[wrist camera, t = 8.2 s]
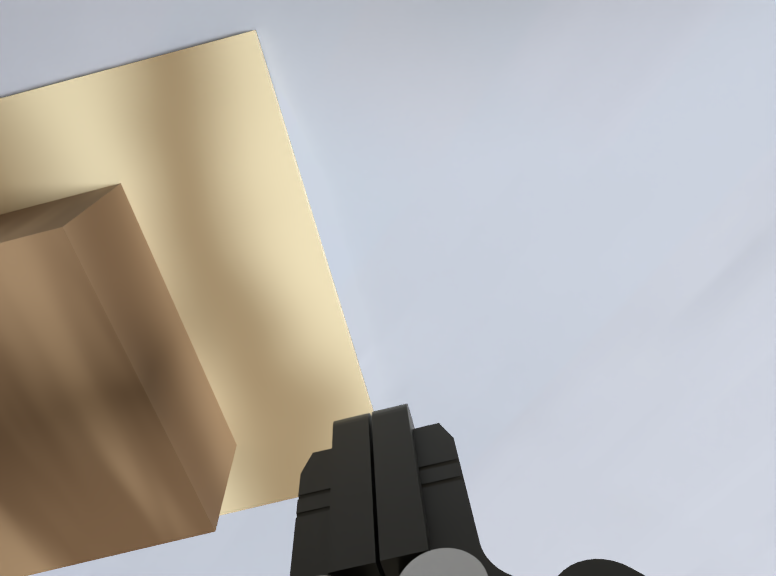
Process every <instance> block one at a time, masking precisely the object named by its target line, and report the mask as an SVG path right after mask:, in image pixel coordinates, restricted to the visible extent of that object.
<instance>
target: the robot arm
mask: <svg viewBox="0 0 776 576" xmlns="http://www.w3.org/2000/svg"><path fill="white" fill-rule="evenodd" d="M298 496H299V500H298V502H297V512H296V514H297V518H296V522H295V532H294V541H293V551H292V561H291V570H290V576H511V575H509V574H507V573H505V572H503V571H502V570H500V569H498V568H497V567H496V566H495V565H493V564H492V563H491V562H490V561H489V559H488V558H487V557H486V556H485V554H484V552H483V550H482V548H481V545H480V542H479V538H478V534H477V530H476V526H475V522H474V518H473V514H472V510H471V506H470V502H469V498H468V494H467V490H466V486H465V482H464V478H463V474H462V470H461V466H460V462H459V458H458V454H457V450H456V446H455V442H454V438H453V437H452V436H451V435H450V434H449V433H448V432H447V431H446V430H445V429H444V428H443V427H442V426H441V425H440V424H439V423H437V424H433V425H428V426H424V427H420V428H416V429H415V428H414V425H413V421H412V417H411V414H410V410H409V407H408V404H404V405H399V406H395V407H391V408H387V409H383V410H378V411H374V412H372V415H371V414H370V413H366V414H362V415H358V416H354V417H349V418H345V419H341V420H337V421H334V422H333V434H332V448H331V449H327V450H322V451H318V452H314V453H312V455H311V457H310V458H309V460H308V462H307V463H306V465H305V467H304V469H303V470H302V472H301V474H300V483H299V493H298ZM558 576H645V575H643V574H641V573H639V572H637V571H636V570H634V569H632V568H630V567H628V566H626V565H624V564H621V563H618V562H615V561H611V560H605V559H591V560H584V561H581V562H577V563H575V564H573V565H571V566H569V567H568V568H566V569H565V570H563V571H562V572H561V573H560V574H559V575H558Z"/></svg>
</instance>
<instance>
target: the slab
mask: <svg viewBox="0 0 776 576" xmlns="http://www.w3.org/2000/svg"><path fill="white" fill-rule="evenodd" d="M236 446H237V444H236V442H235V440H234V438H233V435H232V433H231V431H230V429H229V426H228V424H227V422H226V420H225V417H224V415H223V413H222V411H221V408H220V406H219V404H218V402H217V399H216V397H215V395H214V392H213V390H212V388H211V386H210V383H209V381H208V379H207V377H206V374H205V372H204V370H203V368H202V365H201V363H200V361H199V359H198V356H197V354H196V352H195V350H194V347H193V345H192V343H191V341H190V338H189V336H188V334H187V331H186V329H185V327H184V325H183V322H182V320H181V318H180V316H179V313H178V311H177V309H176V307H175V304H174V302H173V300H172V298H171V295H170V293H169V291H168V289H167V286H166V284H165V282H164V280H163V277H162V275H161V273H160V270H159V268H158V266H157V264H156V261H155V259H154V257H153V255H152V252H151V250H150V248H149V246H148V243H147V241H146V239H145V237H144V234H143V232H142V230H141V228H140V225H139V223H138V221H137V219H136V216H135V214H134V212H133V210H132V207H131V205H130V203H129V200H128V198H127V196H126V194H125V191H124V189H123V187H122V185H121V183H120V184H116V185H112V186H108V187H104V188H101V189H97V190H93V191H89V192H85V193H81V194H78V195H74V196H70V197H66V198H62V199H58V200H54V201H51V202H47V203H43V204H39V205H35V206H31V207H28V208H24V209H20V210H16V211H12V212H8V213H4V214H1V215H0V576H28V575H32V574H36V573H41V572H45V571H49V570H53V569H58V568H62V567H66V566H70V565H75V564H79V563H83V562H87V561H92V560H96V559H100V558H104V557H109V556H113V555H117V554H121V553H126V552H130V551H134V550H138V549H143V548H147V547H151V546H155V545H160V544H164V543H168V542H172V541H177V540H181V539H185V538H189V537H194V536H198V535H202V534H206V533H211V532H215V530H216V526H217V522H218V518H219V514H220V510H221V506H222V502H223V498H224V494H225V490H226V486H227V482H228V478H229V474H230V470H231V466H232V462H233V458H234V454H235V450H236Z"/></svg>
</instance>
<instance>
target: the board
mask: <svg viewBox="0 0 776 576" xmlns="http://www.w3.org/2000/svg"><path fill="white" fill-rule="evenodd" d="M120 183H121V185H122V187H123V189H124V191H125V194H126V196H127V198H128V200H129V203H130V205H131V207H132V210H133V212H134V214H135V216H136V219H137V221H138V223H139V225H140V228H141V230H142V232H143V234H144V237H145V239H146V241H147V243H148V246H149V248H150V250H151V252H152V255H153V257H154V259H155V261H156V264H157V266H158V268H159V270H160V273H161V275H162V277H163V280H164V282H165V284H166V286H167V289H168V291H169V293H170V295H171V298H172V300H173V302H174V304H175V307H176V309H177V311H178V313H179V316H180V318H181V320H182V322H183V325H184V327H185V329H186V331H187V334H188V336H189V338H190V341H191V343H192V345H193V347H194V350H195V352H196V354H197V356H198V359H199V361H200V363H201V365H202V368H203V370H204V372H205V374H206V377H207V379H208V381H209V383H210V386H211V388H212V390H213V392H214V395H215V397H216V399H217V402H218V404H219V406H220V408H221V411H222V413H223V415H224V417H225V420H226V422H227V424H228V426H229V429H230V431H231V433H232V435H233V438H234V440H235V442H236V444H237V446H236V450H235V454H234V458H233V462H232V466H231V470H230V474H229V478H228V482H227V486H226V490H225V494H224V498H223V502H222V506H221V510H220V514H219V516H220V515H224V514H228V513H232V512H237V511H241V510H245V509H249V508H253V507H258V506H262V505H266V504H270V503H275V502H279V501H283V500H287V499H292V498H296V497H299V496H298V493H299V483H300V474H301V472H302V470H303V469H304V467H305V465H306V463H307V462H308V460H309V458H310V457H311V455H312V453H314V452H318V451H322V450H327V449H331V448H332V434H333V422H334V421H337V420H341V419H345V418H349V417H354V416H358V415H362V414H366V413H370V414H371V415H372V412H374V411H373V408H372V405H371V401H370V398H369V395H368V392H367V389H366V385H365V382H364V379H363V376H362V372H361V369H360V366H359V363H358V359H357V356H356V353H355V350H354V346H353V343H352V340H351V337H350V333H349V330H348V327H347V324H346V321H345V317H344V314H343V311H342V308H341V304H340V301H339V298H338V295H337V291H336V288H335V285H334V282H333V278H332V275H331V272H330V269H329V266H328V262H327V259H326V256H325V253H324V249H323V246H322V243H321V240H320V236H319V233H318V230H317V227H316V223H315V220H314V217H313V214H312V211H311V207H310V204H309V201H308V198H307V194H306V191H305V188H304V185H303V181H302V178H301V175H300V172H299V168H298V165H297V162H296V159H295V155H294V152H293V149H292V146H291V143H290V139H289V136H288V133H287V130H286V126H285V123H284V120H283V117H282V113H281V110H280V107H279V104H278V100H277V97H276V94H275V91H274V88H273V84H272V81H271V78H270V75H269V71H268V68H267V65H266V62H265V58H264V55H263V52H262V49H261V45H260V42H259V39H258V36H257V33H256V30H254V31H250V32H246V33H242V34H239V35H235V36H231V37H228V38H224V39H220V40H216V41H213V42H209V43H205V44H201V45H198V46H194V47H190V48H186V49H183V50H179V51H175V52H172V53H168V54H164V55H160V56H157V57H153V58H149V59H145V60H142V61H138V62H134V63H130V64H127V65H123V66H119V67H116V68H112V69H108V70H104V71H101V72H97V73H93V74H89V75H86V76H82V77H78V78H74V79H71V80H67V81H63V82H60V83H56V84H52V85H48V86H45V87H41V88H37V89H33V90H30V91H26V92H22V93H19V94H15V95H11V96H7V97H4V98H0V215H1V214H4V213H8V212H12V211H16V210H20V209H24V208H28V207H31V206H35V205H39V204H43V203H47V202H51V201H54V200H58V199H62V198H66V197H70V196H74V195H78V194H81V193H85V192H89V191H93V190H97V189H101V188H104V187H108V186H112V185H116V184H120Z"/></svg>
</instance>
